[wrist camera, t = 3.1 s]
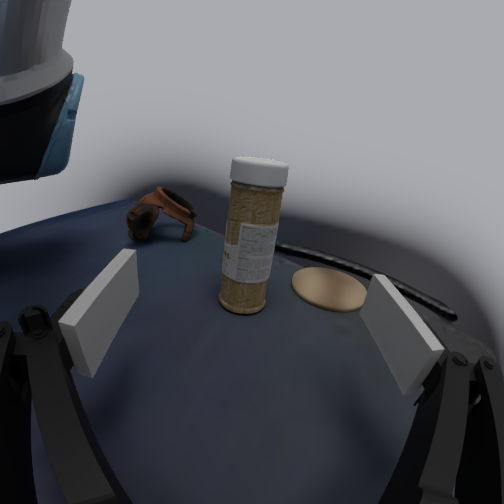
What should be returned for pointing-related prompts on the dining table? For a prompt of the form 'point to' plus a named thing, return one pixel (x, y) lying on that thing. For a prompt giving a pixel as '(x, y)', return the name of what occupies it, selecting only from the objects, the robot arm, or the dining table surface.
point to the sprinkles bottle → (251, 231)
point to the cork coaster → (329, 289)
